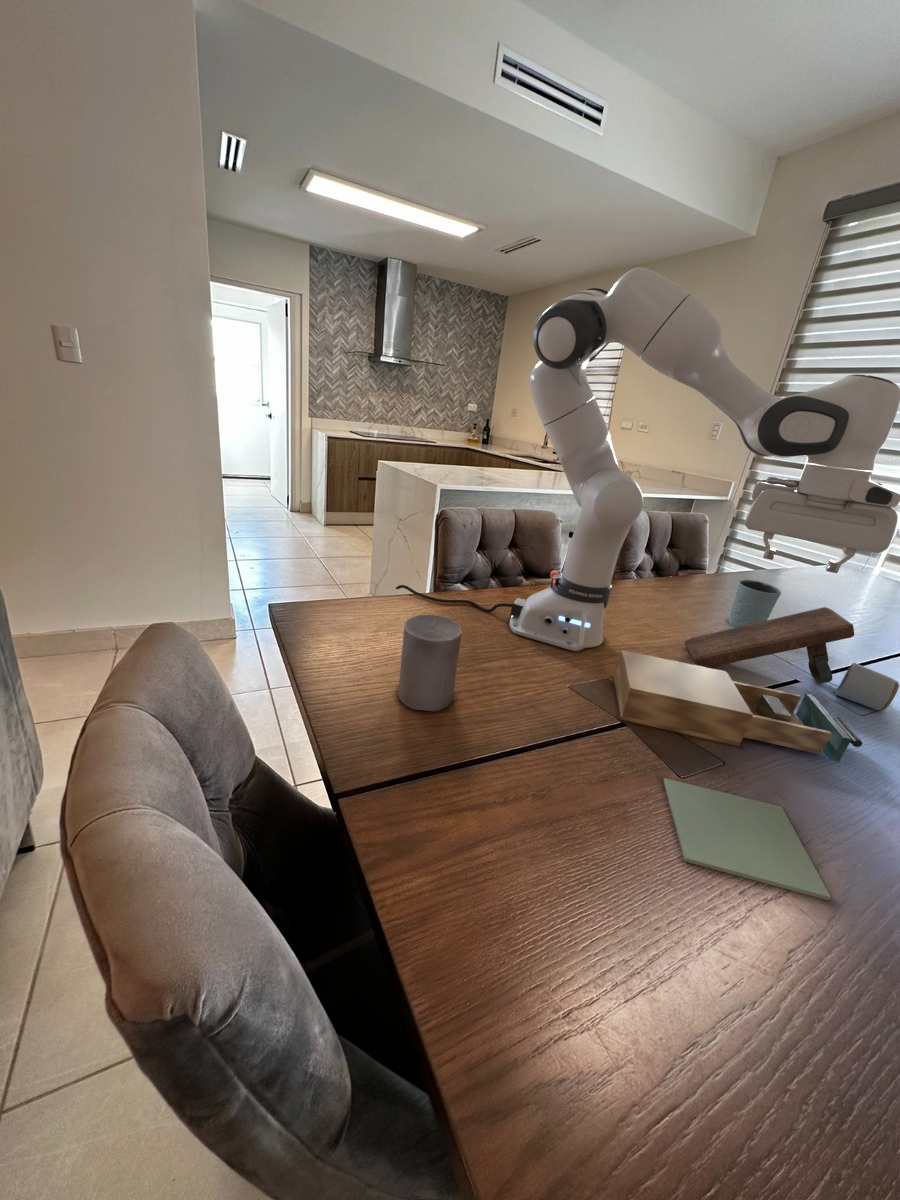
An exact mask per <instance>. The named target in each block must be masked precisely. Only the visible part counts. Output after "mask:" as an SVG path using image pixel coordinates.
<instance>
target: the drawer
mask: <svg viewBox="0 0 900 1200" xmlns="http://www.w3.org/2000/svg"><path fill="white" fill-rule="evenodd" d="M732 681H733V683H734V685H735V686H736V688H737V689H738V691H739V693H740V694H741V696H742V697H743V699H744V701H745V702H746V704H747V705H748V707H749V709H750V710H751V712H752V714H753V717H752V718H751V721H750V723H749V726H748V728H747V730H746V732H745V735H744V737H743V738H745V739H749V740H754V741H759V742H764V743H768V744H772V745H778V746H782V747H786V748H791V749H795V750H799V751H804V752H807V753H808V752H809V753H811V754H816V755H822V754H823V752H824V754H825V755H826V757H828V759H829V760H830V762H835V763H840V762H841V760H842V758H843V756H844V754H845V752H846V751H847V749H848V747H849V745H850V744H851V745H852V746H853V747H854V748H860V747H862V746H863V741H862V740H861V739H860V738H859V737H858V736H857V734H855V732H854V731H853V730H852V729H851V728H850V726H848V724H846V722H845V721H844V720H843V719H842V718H841V716H832V715H831V714H830V713H829V712H828V711H827V710H826V709H825V707H824V706H823V705H822V704H821V703H820V701H819V700H818V699H817V698H816V697H815V696H814V695H813V694H810V693H805V694H804V696H803V698H802V699H801V695H800V694H797V693H793V692H788V691H782V690H778V689H773V688H768V687H764V686H758V685H753V684H748V683H745V682H739V681H734V680H732ZM762 694H763V695H768V696H773V697H777V698H778V699H779V700H780V701H781V703H782V704H783V705H784V707H785V708H786V709H787V711H788V712H789V713H790V715H791V716H792V717H791V719H790V721H789V722H785V721H780V720H776V719H771V718H767V717H762V716H759V715H758V713H757V711H756V708H757V706H758V703H759V701H760V699H761V697H762ZM800 700H801V702H800ZM799 702H800V704H799ZM798 704H799V706H798ZM797 707H798V708H797ZM796 708H797V711H796V713H795V710H796Z"/></svg>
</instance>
